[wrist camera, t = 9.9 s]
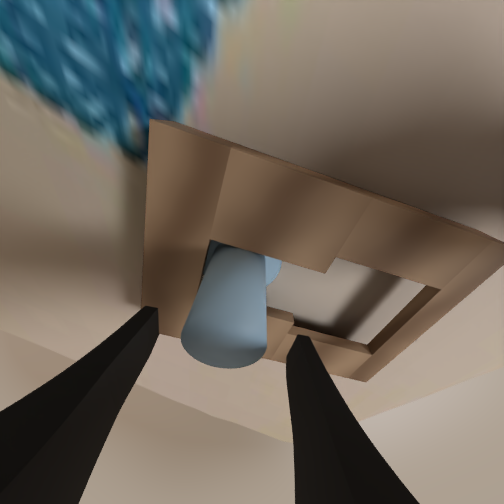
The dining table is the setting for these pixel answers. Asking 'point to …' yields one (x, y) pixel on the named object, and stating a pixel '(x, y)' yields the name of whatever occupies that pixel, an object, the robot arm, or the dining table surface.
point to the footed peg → (230, 308)
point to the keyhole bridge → (296, 240)
